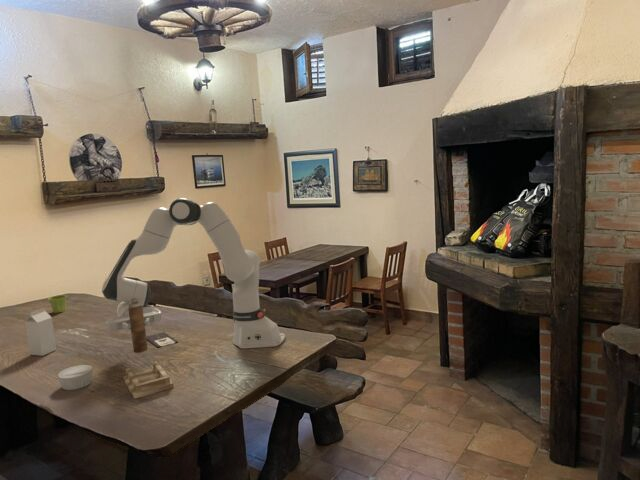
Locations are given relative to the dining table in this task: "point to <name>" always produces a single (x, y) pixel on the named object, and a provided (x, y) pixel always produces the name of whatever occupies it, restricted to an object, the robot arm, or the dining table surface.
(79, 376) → the ramekin
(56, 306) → the plant pot
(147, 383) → the rack
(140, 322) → the pepper mill
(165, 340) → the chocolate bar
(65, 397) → the dining table surface
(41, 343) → the milk carton
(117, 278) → the robot arm
